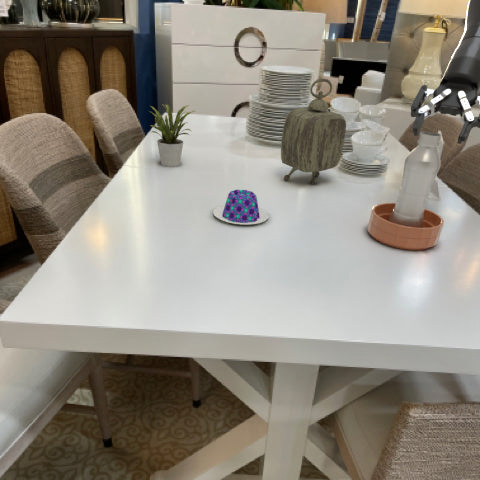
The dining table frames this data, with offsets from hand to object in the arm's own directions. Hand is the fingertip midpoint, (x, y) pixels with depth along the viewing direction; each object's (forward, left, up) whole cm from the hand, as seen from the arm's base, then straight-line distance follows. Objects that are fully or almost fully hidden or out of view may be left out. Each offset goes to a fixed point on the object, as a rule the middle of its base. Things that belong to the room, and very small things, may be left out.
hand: (437, 137), depth 93 cm
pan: (+4, +6, -19) cm, 20 cm away
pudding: (+38, +2, -19) cm, 42 cm away
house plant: (+58, -34, -19) cm, 70 cm away
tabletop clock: (+21, -28, -19) cm, 40 cm away
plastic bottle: (+3, +6, -19) cm, 20 cm away
